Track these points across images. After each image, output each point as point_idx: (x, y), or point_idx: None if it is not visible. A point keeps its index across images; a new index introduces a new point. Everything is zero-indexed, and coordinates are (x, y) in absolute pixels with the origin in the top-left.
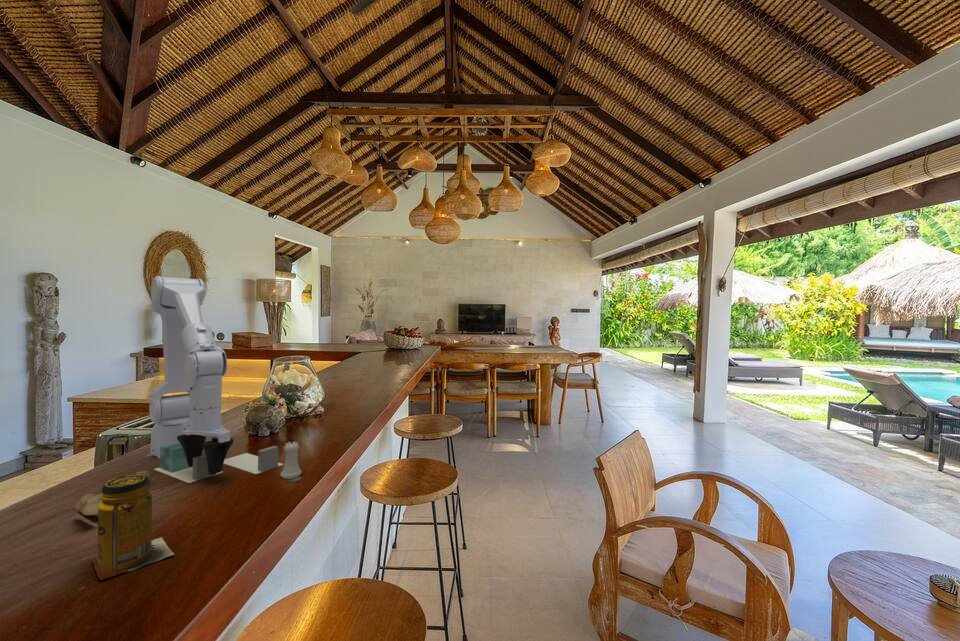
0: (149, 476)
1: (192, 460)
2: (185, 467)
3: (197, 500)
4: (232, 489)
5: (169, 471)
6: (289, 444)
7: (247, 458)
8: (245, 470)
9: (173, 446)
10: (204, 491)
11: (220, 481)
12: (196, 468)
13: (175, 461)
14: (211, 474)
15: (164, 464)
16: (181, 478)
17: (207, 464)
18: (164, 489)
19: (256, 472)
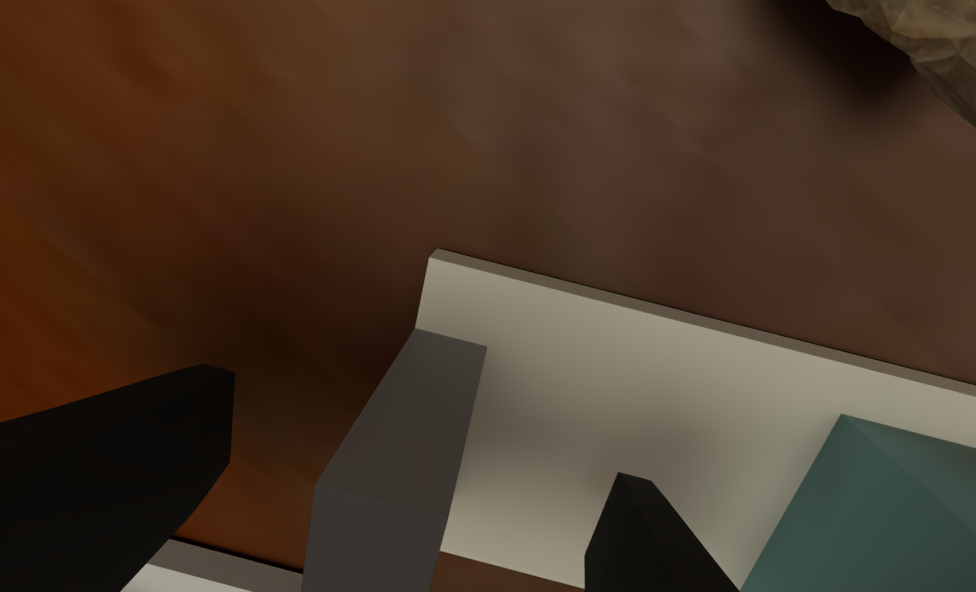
0: (897, 33)
1: (626, 556)
2: (785, 528)
3: (91, 38)
4: (71, 320)
5: (893, 427)
6: None
7: None
8: (235, 587)
9: None
10: (227, 219)
11: (303, 417)
12: (385, 394)
13: (913, 531)
14: (196, 368)
15: None
16: (602, 321)
17: (119, 419)
18: (623, 132)
19: None
